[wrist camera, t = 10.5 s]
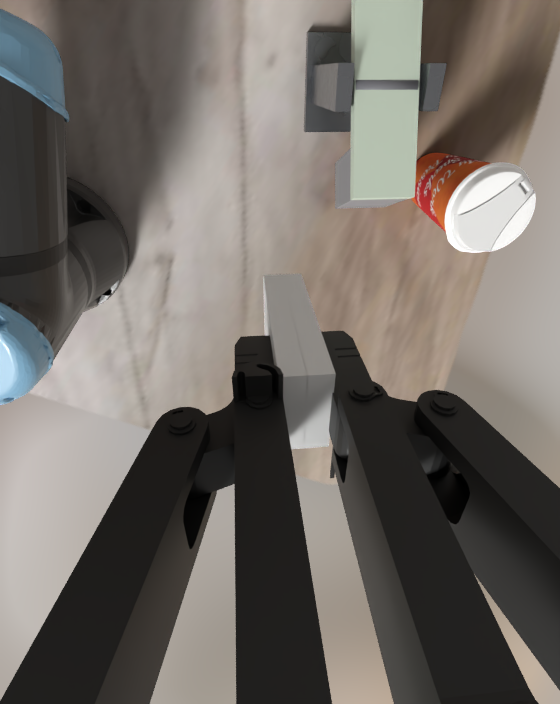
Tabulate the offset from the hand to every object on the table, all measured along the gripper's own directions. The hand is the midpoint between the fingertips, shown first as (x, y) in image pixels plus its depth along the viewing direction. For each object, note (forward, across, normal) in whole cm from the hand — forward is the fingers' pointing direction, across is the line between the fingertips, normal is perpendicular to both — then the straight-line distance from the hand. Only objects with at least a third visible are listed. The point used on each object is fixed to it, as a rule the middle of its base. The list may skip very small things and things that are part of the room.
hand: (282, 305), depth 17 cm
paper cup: (+33, +20, -2) cm, 38 cm away
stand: (+32, +10, +7) cm, 35 cm away
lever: (+28, +10, +7) cm, 31 cm away
